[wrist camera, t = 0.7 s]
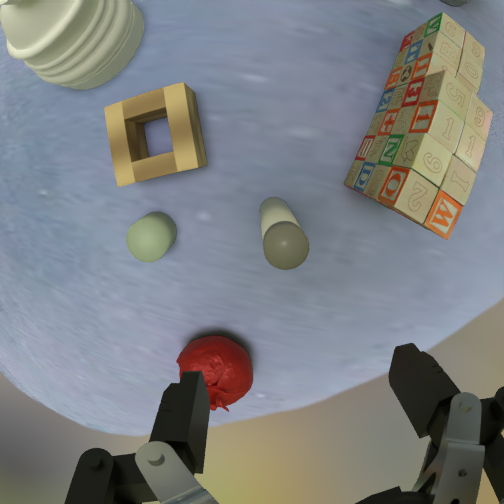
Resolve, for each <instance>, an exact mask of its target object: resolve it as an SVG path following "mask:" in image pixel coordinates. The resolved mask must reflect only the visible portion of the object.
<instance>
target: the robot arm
mask: <svg viewBox="0 0 504 504" xmlns="http://www.w3.org/2000/svg"><path fill="white" fill-rule="evenodd" d="M442 1H443V2H445V3H447V4H449V5H453V6H460V5H462V4H464V3H467V2H468V1H470V0H442ZM389 383H390V386H391V388H392V389H393V391H394V393H395V395H396V396H397V398H398V400H399V402H400V403H401V405H402V407H403V409H404V411H405V412H406V414H407V416H408V418H409V420H410V422H411V423H412V425H413V427H414V429H415V431H416V433H417V435H418V436H419V438H423V437H425V436H428V435H430V437H431V440H430V441H429V444H428V448H427V451H426V455H425V458H424V462H423V465H422V468H421V471H420V474H419V477H418V479H417V481H416V483H415V485H414V486H413V488H412V490H411V491H407V492H401V489H400V487H399V486H398V487H395V488H392V489H389V490H386V491H383V492H380V493H377V494H374V495H371V496H369V497H367V498H365V499H364V500H361V501H359V502H357V503H355V504H476V500H477V495H478V490H479V486H480V481H481V475H482V468H484V470H485V472H486V474H487V477H488V479H489V481H490V483H491V485H492V487H493V489H494V492H495V494H496V496H497V498H498V501H499V504H504V438H503V436H502V434H501V432H502V431H503V429H504V387H501V388H500V389H498V391H497V392H496V394H495V396H494V397H492V398H486V399H478V397H477V396H475V395H474V394H471V393H467V392H463V393H461V392H460V390H459V389H458V388H457V386H456V385H455V384H454V383H453V381H452V380H451V379H450V378H449V376H448V375H447V374H446V373H445V372H444V371H443V369H442V368H441V366H439V364H438V363H437V361H436V360H435V359H434V358H433V357H432V356H431V355H429V354H427V353H426V352H424V351H422V352H420V351H419V349H418V348H417V347H416V346H415V344H413V343H409V344H405V345H401V346H397V347H396V348H395V350H394V354H393V358H392V362H391V366H390V370H389ZM158 410H159V411H158V413H157V416H156V419H155V423H154V426H153V430H152V433H151V436H150V440H149V442H148V443H146V444H144V445H143V446H141V447H140V448H139V449H138V451H137V452H136V453H133V454H127V455H118V456H111V454H110V453H109V452H108V451H106V450H104V449H101V448H92V449H89V450H87V451H85V452H84V453H83V454H82V455H81V457H80V459H79V461H78V464H77V467H76V470H75V473H74V476H73V478H72V481H71V485H70V488H69V491H68V494H67V497H66V500H65V504H142V502H150V501H159V502H160V503H161V504H219V503H218V502H217V501H216V500H215V499H214V497H213V496H212V495H211V494H210V493H209V492H208V491H207V490H206V489H204V488H203V487H202V486H201V485H200V484H199V482H198V481H197V480H196V479H195V477H194V473H199V474H202V473H203V467H204V458H205V448H206V438H207V430H208V422H209V413H210V400H209V395H208V391H207V387H206V383H205V379H204V375H203V372H202V371H183V372H182V375H181V379H180V383H171V384H170V385H169V386H168V388H167V389H166V390H165V391H164V393H163V396H162V399H161V403H160V406H159V409H158Z"/></svg>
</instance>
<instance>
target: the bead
mask: <svg viewBox="0 0 504 504" xmlns="http://www.w3.org/2000/svg"><path fill="white" fill-rule="evenodd" d="M175 238H176V226H175V224H174V222H173V220H172V219H171V218H170V217H169V216H168V215H166V214H165V213H162V212H152V213H149V214H148V215H146V216H145V217H143V218H141V219H140V220H138V221H137V222H135V223H134V224H133V225H132V226H131V227H130V228H129V230H128V232H127V236H126V242H127V246H128V249H129V251H130V252H131V254H132V255H133V256H134V257H135V258H136V259H138V260H140V261H143V262H154V261H157V260H158V259H160V258H161V257H162V256H163V254H164V253H165V252H166V251H167V250H168V248H169V247H170V246H171V245H172V243H173V242H174V240H175Z"/></svg>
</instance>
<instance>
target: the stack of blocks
mask: <svg viewBox="0 0 504 504" xmlns="http://www.w3.org/2000/svg"><path fill="white" fill-rule="evenodd" d="M485 51H486V50H485V48H484V47H483V46H482V45H481V44H480V43H479V42H478V41H477V40H476V39H475V38H474V37H472V36H471V35H470V34H469V33H468V32H467V31H465V30H464V29H463V28H462V27H461V26H460V25H459V24H457V23H456V22H455V21H454V20H452V19H451V18H450V17H449V16H448V15H446V14H445V13H444V12H442V13H440V14H438V15H436V16H435V17H433V18H431V19H430V20H428V22H427V23H425V24H423V25H422V26H420V27H418V28H417V29H416V30H415V31H413V32H411V33H409V34H408V35H407V36H405V37H404V40H403V43H402V46H401V49H400V52H399V53H398V55H397V58H396V61H395V64H394V66H393V69H392V72H391V74H390V76H389V79H388V81H387V84H386V87H385V89H384V93H383V96H382V98H381V101H380V103H379V106H378V108H377V110H376V114H375V116H374V118H373V121H372V123H371V125H370V128H369V130H368V133H367V135H366V136H365V138H364V140H363V142H362V145H361V147H360V149H359V151H358V154H357V156H356V158H355V160H354V162H353V164H352V166H351V168H350V171H349V173H348V175H347V177H346V179H345V181H344V185H346V186H348V187H350V188H352V189H354V190H356V191H358V192H360V193H362V194H364V195H365V196H367V197H370V198H372V199H374V200H375V201H377V202H379V203H381V204H382V205H384V206H386V207H387V208H389V209H391V210H393V211H395V212H397V213H399V214H401V215H403V216H404V217H406V218H408V219H410V220H412V221H413V222H415V223H417V224H419V225H420V226H422V227H424V228H425V229H427V230H430V231H432V232H434V233H436V234H437V235H439V236H441V237H443V238H444V239H446V240H448V239H449V237H450V234H451V232H452V230H453V228H454V226H455V224H456V222H457V220H458V217H459V215H460V213H461V210H462V206H464V205H465V204H466V202H467V199H468V197H469V194H470V192H471V189H472V186H473V184H474V181H475V178H476V172H477V171H478V169H479V166H480V162H481V159H482V156H483V152H484V149H485V146H486V143H485V141H486V140H487V137H488V133H489V129H490V125H491V120H492V116H493V112H492V111H491V110H490V109H489V108H488V107H487V106H486V105H485V104H484V103H483V102H482V101H481V100H480V99H479V98H478V97H477V93H478V91H479V87H480V82H481V77H482V72H483V69H482V68H483V63H484V58H485Z"/></svg>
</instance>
